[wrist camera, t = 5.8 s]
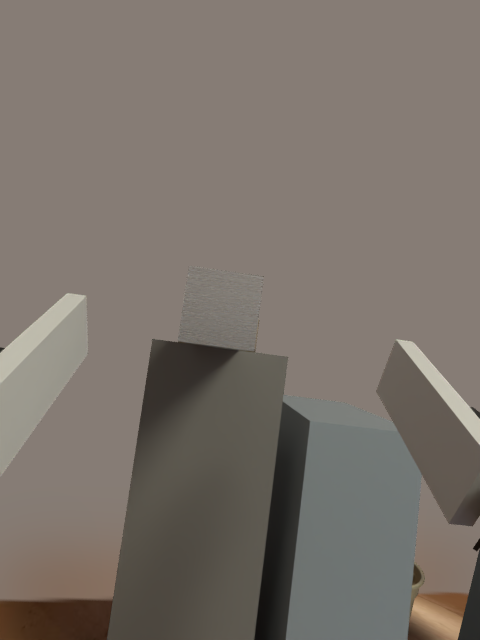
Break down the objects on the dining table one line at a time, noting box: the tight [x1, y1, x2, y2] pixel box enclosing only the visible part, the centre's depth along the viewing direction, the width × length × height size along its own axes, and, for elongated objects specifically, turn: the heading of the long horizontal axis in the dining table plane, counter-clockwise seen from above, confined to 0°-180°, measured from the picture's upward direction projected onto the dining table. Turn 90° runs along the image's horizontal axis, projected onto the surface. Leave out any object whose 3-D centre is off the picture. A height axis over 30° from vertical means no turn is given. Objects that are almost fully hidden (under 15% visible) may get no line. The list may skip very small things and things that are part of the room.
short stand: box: [254, 395, 422, 640], centre depth 31 cm, size 8×15×26 cm, turn 5°
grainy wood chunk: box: [178, 266, 264, 353], centre depth 26 cm, size 7×23×3 cm, turn 4°
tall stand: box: [107, 339, 288, 640], centre depth 31 cm, size 9×15×30 cm, turn 5°
